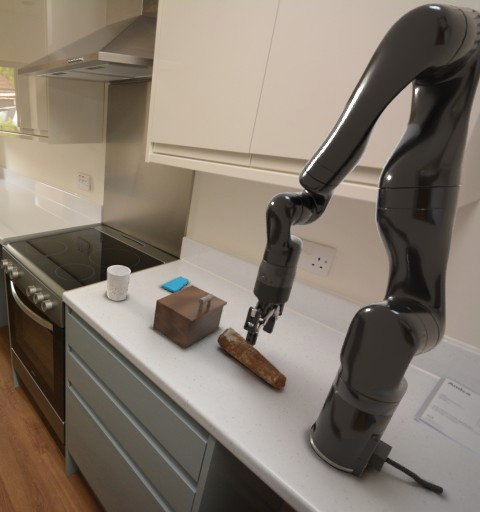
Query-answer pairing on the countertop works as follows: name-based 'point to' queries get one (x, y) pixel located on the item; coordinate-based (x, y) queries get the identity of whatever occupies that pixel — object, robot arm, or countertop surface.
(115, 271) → the white cup
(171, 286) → the sponge
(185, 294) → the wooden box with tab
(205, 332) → the bread bin
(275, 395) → the countertop surface
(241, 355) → the bread
